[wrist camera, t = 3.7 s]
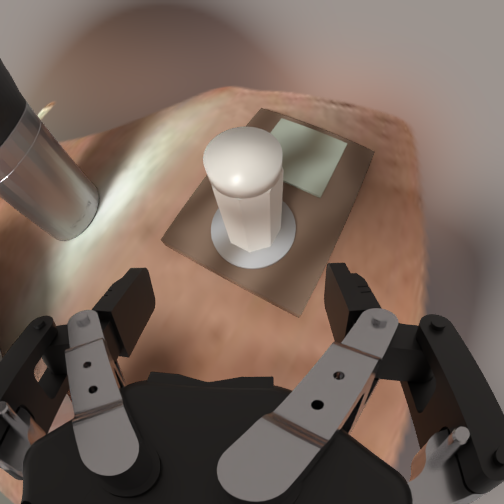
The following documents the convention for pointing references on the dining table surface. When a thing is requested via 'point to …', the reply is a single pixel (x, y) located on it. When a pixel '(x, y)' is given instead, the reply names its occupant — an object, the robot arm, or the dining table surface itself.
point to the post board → (292, 217)
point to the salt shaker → (247, 184)
